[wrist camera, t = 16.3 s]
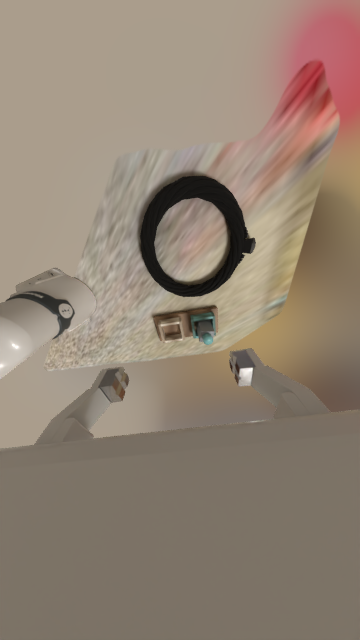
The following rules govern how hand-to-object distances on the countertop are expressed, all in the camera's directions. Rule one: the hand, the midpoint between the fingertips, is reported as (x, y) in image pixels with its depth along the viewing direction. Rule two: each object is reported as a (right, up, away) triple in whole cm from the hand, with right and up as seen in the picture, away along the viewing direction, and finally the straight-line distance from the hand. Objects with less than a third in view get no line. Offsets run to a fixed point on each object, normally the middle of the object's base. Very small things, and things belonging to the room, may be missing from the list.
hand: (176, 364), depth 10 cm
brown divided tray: (+3, +2, +39) cm, 40 cm away
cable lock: (+5, +24, +28) cm, 37 cm away
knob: (+8, +2, +38) cm, 39 cm away
